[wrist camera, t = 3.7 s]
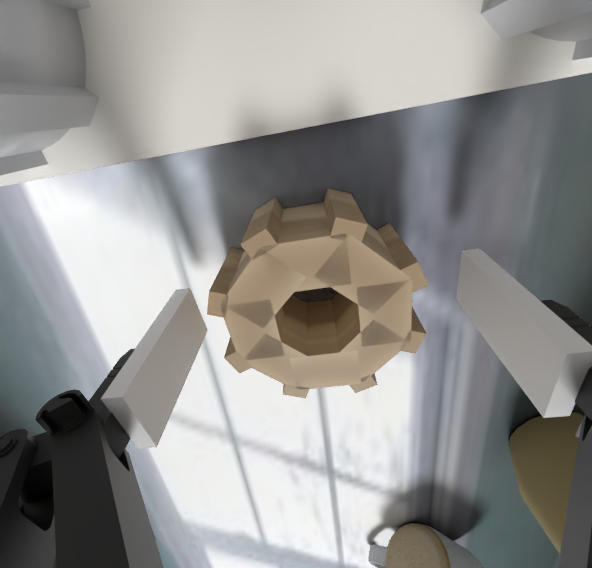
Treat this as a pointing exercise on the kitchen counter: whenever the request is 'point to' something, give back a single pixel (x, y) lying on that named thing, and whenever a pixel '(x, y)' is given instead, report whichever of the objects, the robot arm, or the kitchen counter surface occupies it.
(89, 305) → the kitchen counter surface
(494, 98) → the kitchen counter surface
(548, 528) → the squeeze bottle
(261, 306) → the wooden gear
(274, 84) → the gear board
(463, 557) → the ceramic mug
